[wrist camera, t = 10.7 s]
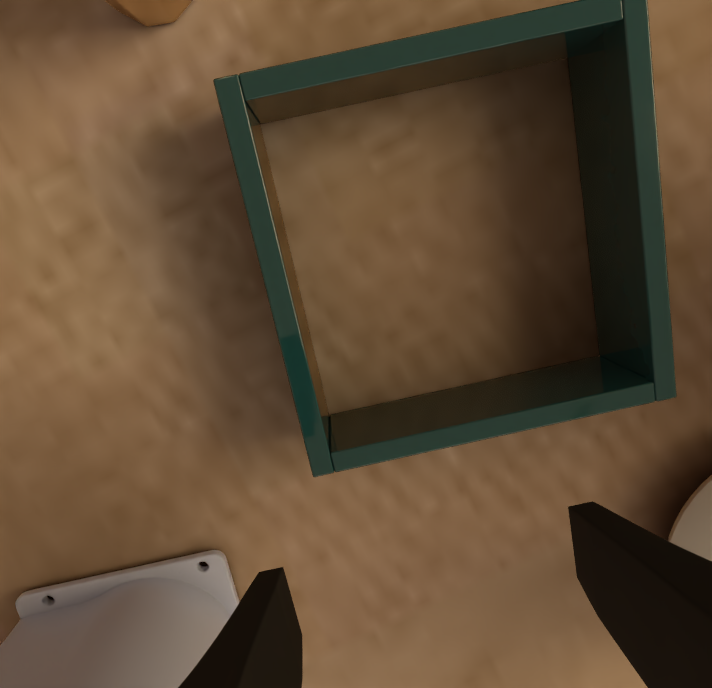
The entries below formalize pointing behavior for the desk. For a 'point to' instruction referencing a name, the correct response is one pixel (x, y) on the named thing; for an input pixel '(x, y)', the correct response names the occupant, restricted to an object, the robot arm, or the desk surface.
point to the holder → (601, 207)
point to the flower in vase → (695, 522)
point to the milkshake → (151, 10)
